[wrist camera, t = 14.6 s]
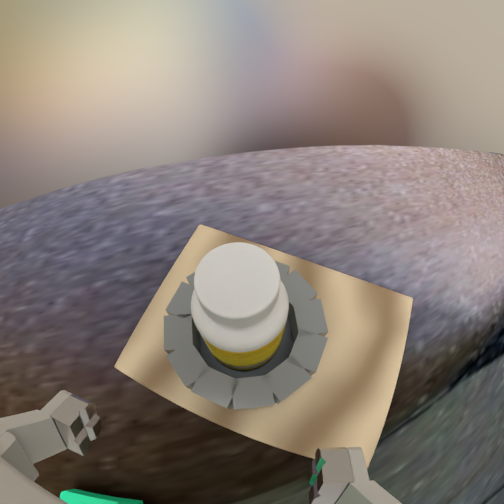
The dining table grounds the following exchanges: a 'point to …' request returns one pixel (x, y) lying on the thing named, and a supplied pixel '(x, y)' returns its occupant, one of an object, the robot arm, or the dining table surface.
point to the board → (322, 382)
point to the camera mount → (93, 498)
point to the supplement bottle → (240, 305)
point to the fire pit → (258, 381)
